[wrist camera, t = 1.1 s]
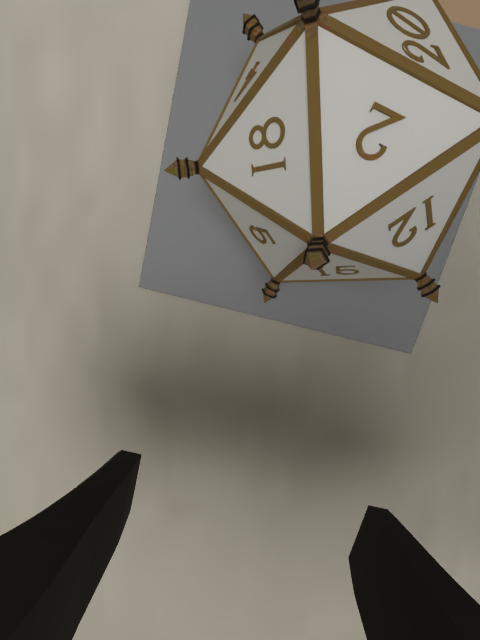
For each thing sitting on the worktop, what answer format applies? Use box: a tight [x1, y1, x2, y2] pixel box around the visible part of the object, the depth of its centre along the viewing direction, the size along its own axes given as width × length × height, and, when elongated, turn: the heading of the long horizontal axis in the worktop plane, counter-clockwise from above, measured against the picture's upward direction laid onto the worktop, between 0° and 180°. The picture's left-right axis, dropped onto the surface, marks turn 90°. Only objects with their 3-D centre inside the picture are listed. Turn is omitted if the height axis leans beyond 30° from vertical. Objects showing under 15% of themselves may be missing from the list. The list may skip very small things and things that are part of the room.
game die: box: [164, 0, 480, 303], centre depth 11 cm, size 9×8×10 cm
